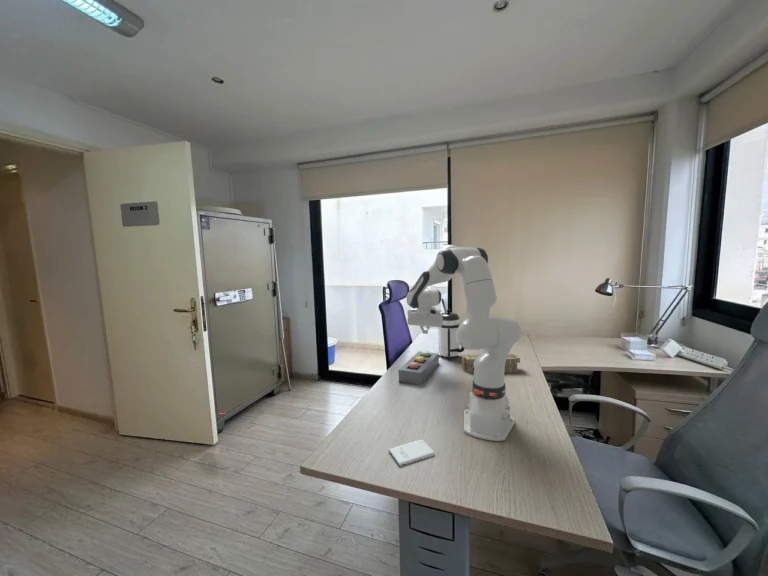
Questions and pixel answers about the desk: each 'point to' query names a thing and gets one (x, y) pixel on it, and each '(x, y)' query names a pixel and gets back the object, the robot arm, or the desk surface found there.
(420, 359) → the ochre button
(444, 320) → the coffee press
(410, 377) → the button panel
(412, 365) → the brick button
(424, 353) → the sage button
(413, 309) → the robot arm
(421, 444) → the external hard drive
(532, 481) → the desk surface
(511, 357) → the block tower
